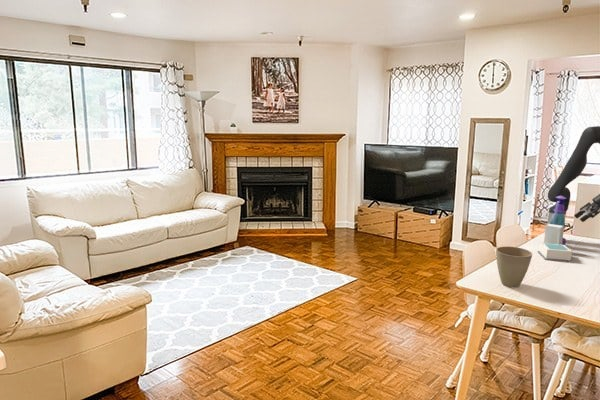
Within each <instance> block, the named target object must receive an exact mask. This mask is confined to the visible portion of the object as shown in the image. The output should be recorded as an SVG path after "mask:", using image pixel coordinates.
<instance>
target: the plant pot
mask: <svg viewBox="0 0 600 400" xmlns="http://www.w3.org/2000/svg"><path fill="white" fill-rule="evenodd" d="M495 254H496V255H495V256H496V257H495V258H496V265H497V269H498V270H497V271H498V276H499V279H500V282H501V284H502V285H503V286H505V287H508V288H518V287H520V286H521V284H522V282H523V280H524V279H525V276H526V274H527V272H528V270H529V267H530V264H531V260H532V257H533V252H532V251H530V250H528V249H525V248H522V247H518V246H508V245H507V246H506V245H505V246H498V247H496V249H495Z"/></svg>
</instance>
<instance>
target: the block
mask: <svg viewBox="0 0 600 400" xmlns="http://www.w3.org/2000/svg"><path fill="white" fill-rule="evenodd" d="M539 251H540V252H541V253H542V255H543V256H544V257H545V258H548V259H560V260H568V261H571V260H572V256H573V251H572V250H571V249H570V248H569V247H567V246H566V244H565V245H558V244H546V243H544V242H543V243H542V242H541V243H540V247H539Z"/></svg>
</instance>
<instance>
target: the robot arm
mask: <svg viewBox="0 0 600 400" xmlns="http://www.w3.org/2000/svg"><path fill="white" fill-rule="evenodd" d="M594 144H599V145H600V125H598V126H588V127H586V128H585V129H584V130H583V132H581V135H580V138H579V139H578V142H577V144H576V146H575V148H574V150H573V152H572V154H570V155H571V156H570V157H569V159H568V160H567V161H566V164H565V165H564V168H563V169H562V170H561V173H560V174H559V176H558V177H557V179H556V180H555V181H554V183H553V184H552V186H551V187H550V188H549V190H548V192H547V199H548V200H549V202H551V203H555V204H554V205H552V206H551V207H549V209H548V216H547V222H546V225H547V224H550V222H551V219H552V216H553V214H554V209H555V205H556V203H557V198H556V197H558V196H563V197H565V198H566V199H565V200H564V205H565V207H564V211H565V213H564V214H563V215H564V220H565V221H566V216H567V215H566V214H567V211H568V210H569V207H570V201H571V191H570V189H569V188H568V187H567V186H568V185H569V184H570V183H571V182H573V181H574V180H575V179H577V178H578V177H580V175H581V174H582V173H583V172H584V169H585V168H586V166H587V162H588V152H589V151H590V149H591V147H592V146H593V145H594ZM598 214H600V193H599V194H598V195H596V196H595V197H593V198H592V202H590V201H589V202H587V203H586V204H585V205H583V206H581V207H580V208H579V211H578V212H577V213H576V214H574V215H573V217H574V218H575V219H579V221H581V223H584V222H586V221H587V220H588V219H593V218H595V217H597V216H598ZM581 216H582V217H581ZM564 230H565V229H564ZM564 230H563V232H564Z"/></svg>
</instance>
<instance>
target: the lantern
mask: <svg viewBox="0 0 600 400" xmlns="http://www.w3.org/2000/svg"><path fill="white" fill-rule="evenodd" d="M556 198H557V203H556V202H555V204H556V205H555V204H554V205H555V209H554V214H553V216H552V219H551V222H550V224H554V225H561V226H564V230H565V228H566V223H565V222H566V219H565V220H564V215H563V214H564V213H565V211H564V207H565V205H564V200H565V199H566V198H565V197H563V196H558V197H556ZM566 242H567V241H566V238H565V237H563V241H562V245H565V246H566V244H567V243H566Z"/></svg>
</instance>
